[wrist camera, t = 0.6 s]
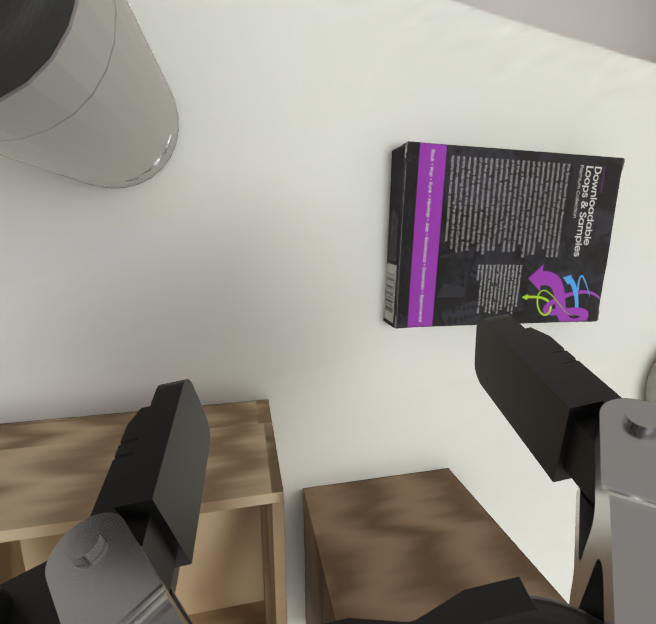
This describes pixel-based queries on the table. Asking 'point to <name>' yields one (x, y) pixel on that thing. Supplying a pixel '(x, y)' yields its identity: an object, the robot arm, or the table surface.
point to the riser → (403, 548)
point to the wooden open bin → (214, 518)
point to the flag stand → (651, 386)
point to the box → (497, 235)
